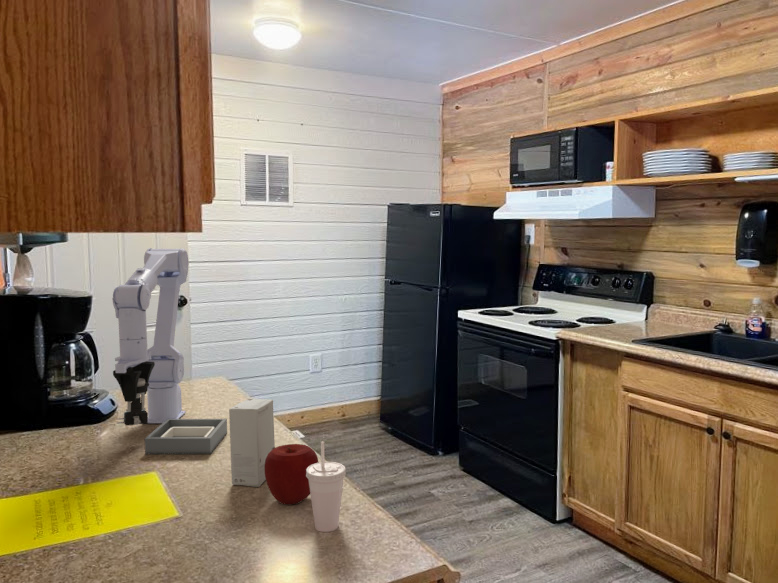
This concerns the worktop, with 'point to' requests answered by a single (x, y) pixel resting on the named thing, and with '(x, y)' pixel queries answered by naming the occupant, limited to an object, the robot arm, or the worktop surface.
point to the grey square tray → (185, 437)
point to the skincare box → (251, 440)
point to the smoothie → (326, 492)
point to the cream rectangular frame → (188, 431)
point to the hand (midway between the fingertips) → (135, 397)
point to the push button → (137, 407)
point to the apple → (289, 472)
